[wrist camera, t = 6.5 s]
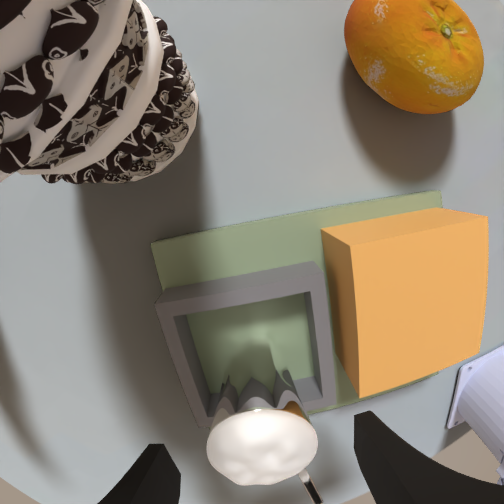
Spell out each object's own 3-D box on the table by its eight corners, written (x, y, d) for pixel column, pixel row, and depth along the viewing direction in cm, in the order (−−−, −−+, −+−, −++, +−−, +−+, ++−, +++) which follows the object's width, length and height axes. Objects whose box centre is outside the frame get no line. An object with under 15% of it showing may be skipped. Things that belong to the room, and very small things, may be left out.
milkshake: (266, 400, 19) (280, 524, 10) (203, 357, 19) (178, 486, 9) (315, 357, 19) (362, 478, 9) (252, 307, 18) (262, 431, 8)
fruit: (388, 148, 14) (492, 42, 7) (295, 42, 15) (351, -62, 8) (448, 131, 17) (520, 65, 10) (376, 48, 19) (427, -22, 11)
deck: (432, 190, 18) (492, 195, 12) (432, 367, 21) (470, 409, 15) (154, 241, 18) (117, 266, 12) (210, 421, 21) (204, 480, 15)
